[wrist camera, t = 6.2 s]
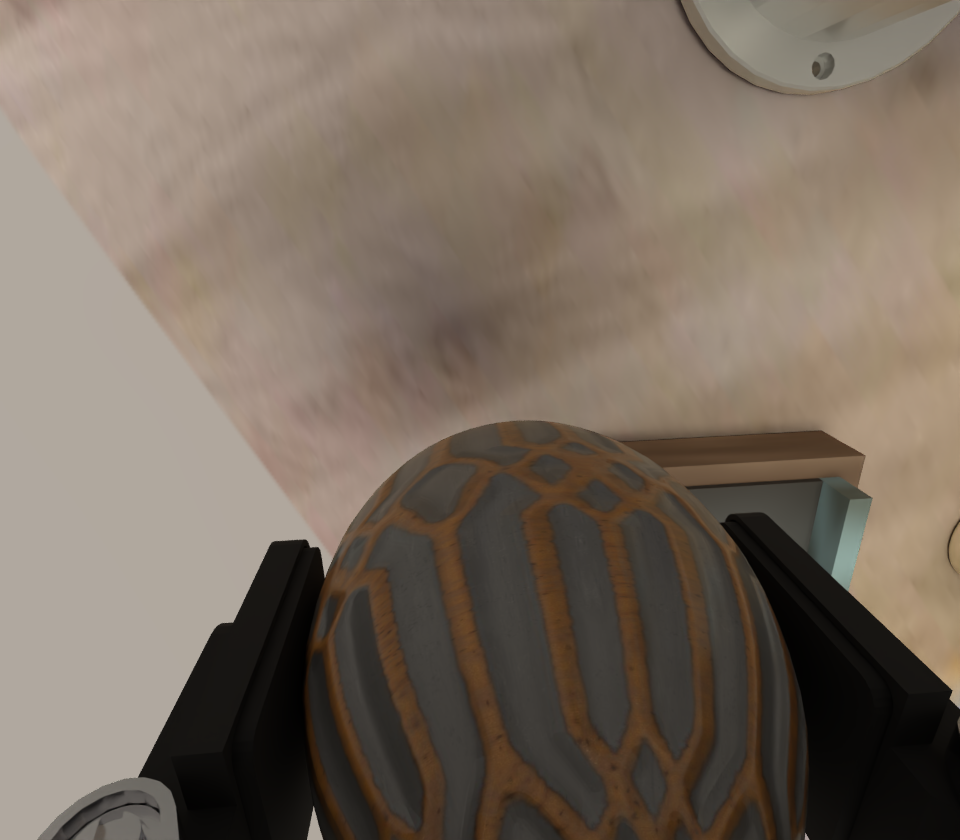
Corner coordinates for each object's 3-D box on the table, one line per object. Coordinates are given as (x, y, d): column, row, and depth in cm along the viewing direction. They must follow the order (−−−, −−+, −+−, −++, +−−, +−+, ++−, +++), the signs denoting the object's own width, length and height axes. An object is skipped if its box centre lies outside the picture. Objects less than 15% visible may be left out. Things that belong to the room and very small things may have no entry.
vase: (616, 661, 14) (876, 1326, 6) (332, 636, 13) (156, 1390, 5) (705, 401, 11) (1388, 913, 3) (364, 348, 10) (111, 878, 2)
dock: (504, 448, 27) (520, 499, 22) (821, 430, 28) (900, 475, 23) (506, 673, 32) (519, 753, 27) (774, 650, 33) (831, 723, 28)
